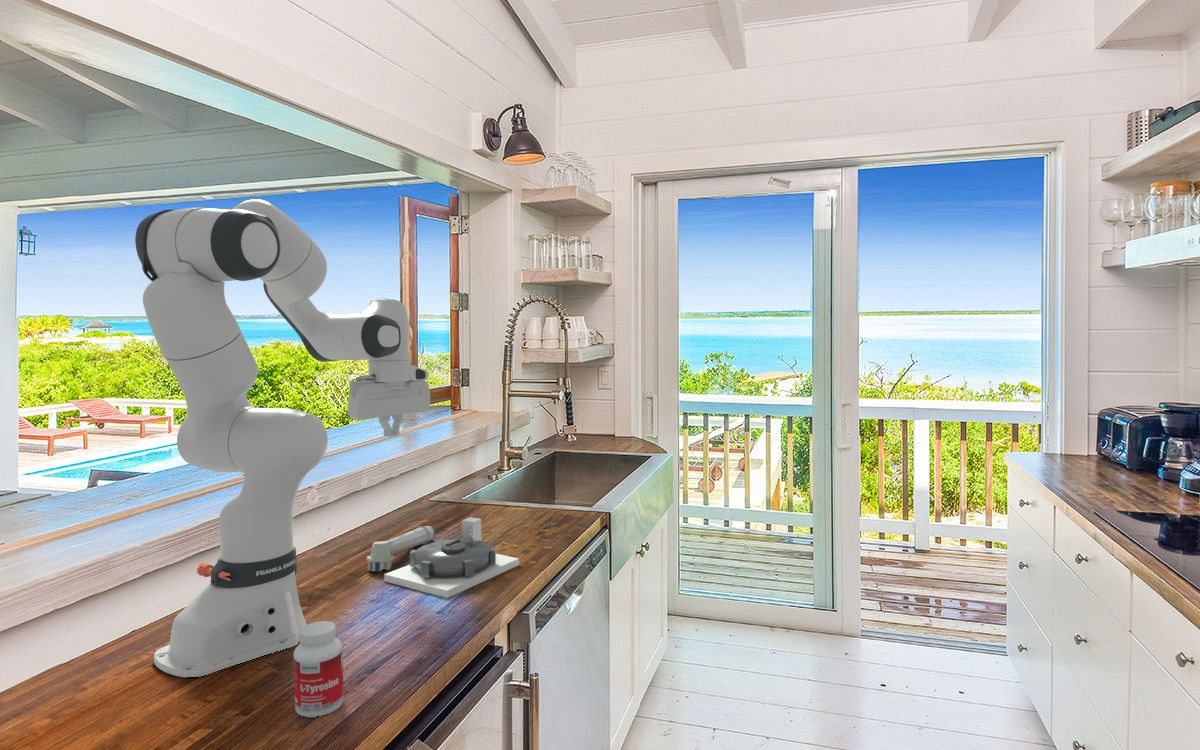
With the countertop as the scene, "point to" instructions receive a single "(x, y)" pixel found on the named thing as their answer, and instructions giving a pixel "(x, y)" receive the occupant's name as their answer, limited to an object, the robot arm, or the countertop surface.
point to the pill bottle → (318, 670)
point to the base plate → (448, 578)
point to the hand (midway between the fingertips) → (391, 436)
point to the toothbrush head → (397, 547)
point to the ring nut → (455, 554)
